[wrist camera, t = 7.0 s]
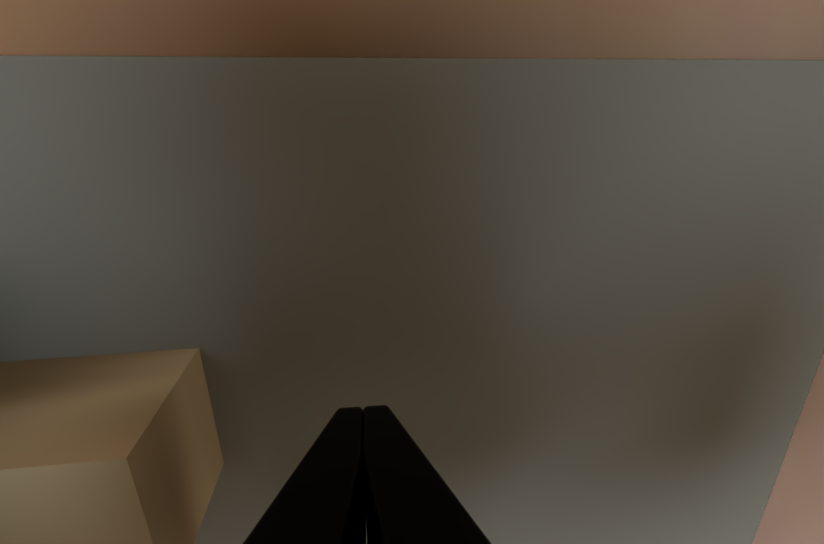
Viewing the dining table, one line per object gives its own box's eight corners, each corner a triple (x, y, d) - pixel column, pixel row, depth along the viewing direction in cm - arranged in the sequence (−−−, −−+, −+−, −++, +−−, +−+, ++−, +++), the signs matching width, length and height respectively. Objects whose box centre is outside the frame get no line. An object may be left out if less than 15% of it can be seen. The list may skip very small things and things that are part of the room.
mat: (904, 63, 8) (931, 61, 7) (733, 545, 12) (745, 559, 12) (-448, 55, 6) (-504, 52, 5) (-76, 646, 10) (-93, 667, 9)
